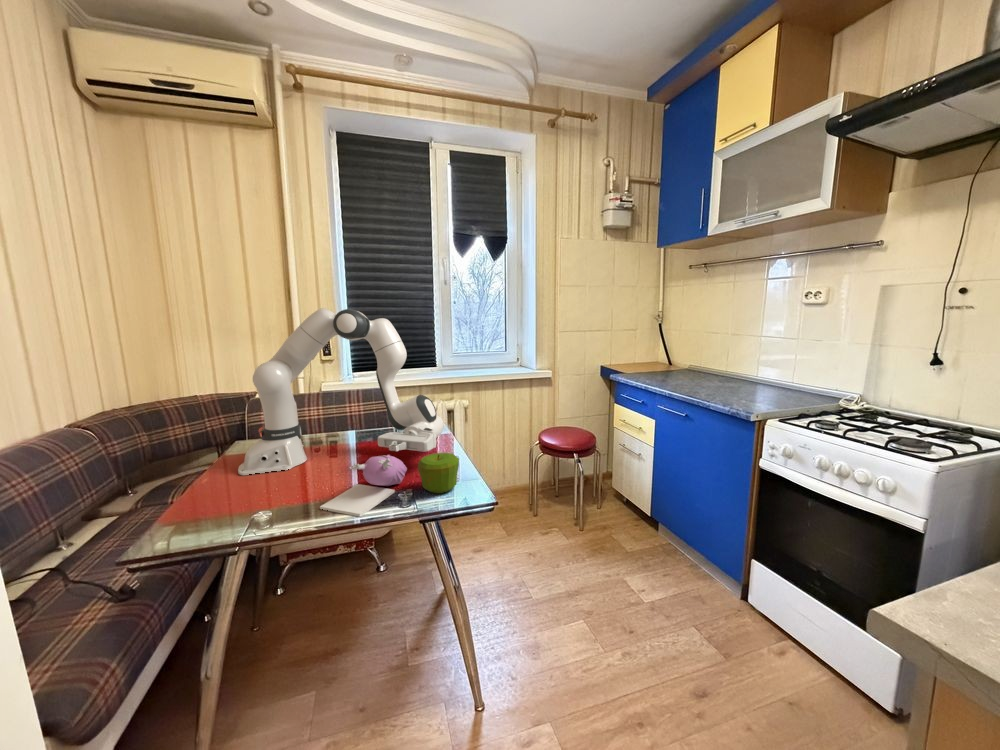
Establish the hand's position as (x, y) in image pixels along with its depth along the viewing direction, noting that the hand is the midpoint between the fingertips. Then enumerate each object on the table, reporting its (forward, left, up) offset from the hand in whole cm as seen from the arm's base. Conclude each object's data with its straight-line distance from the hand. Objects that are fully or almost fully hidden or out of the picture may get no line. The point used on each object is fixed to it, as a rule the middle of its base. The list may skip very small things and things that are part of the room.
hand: (392, 448), depth 137 cm
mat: (-13, -12, -10) cm, 20 cm away
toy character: (-1, -1, -8) cm, 8 cm away
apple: (+10, -17, -10) cm, 22 cm away
